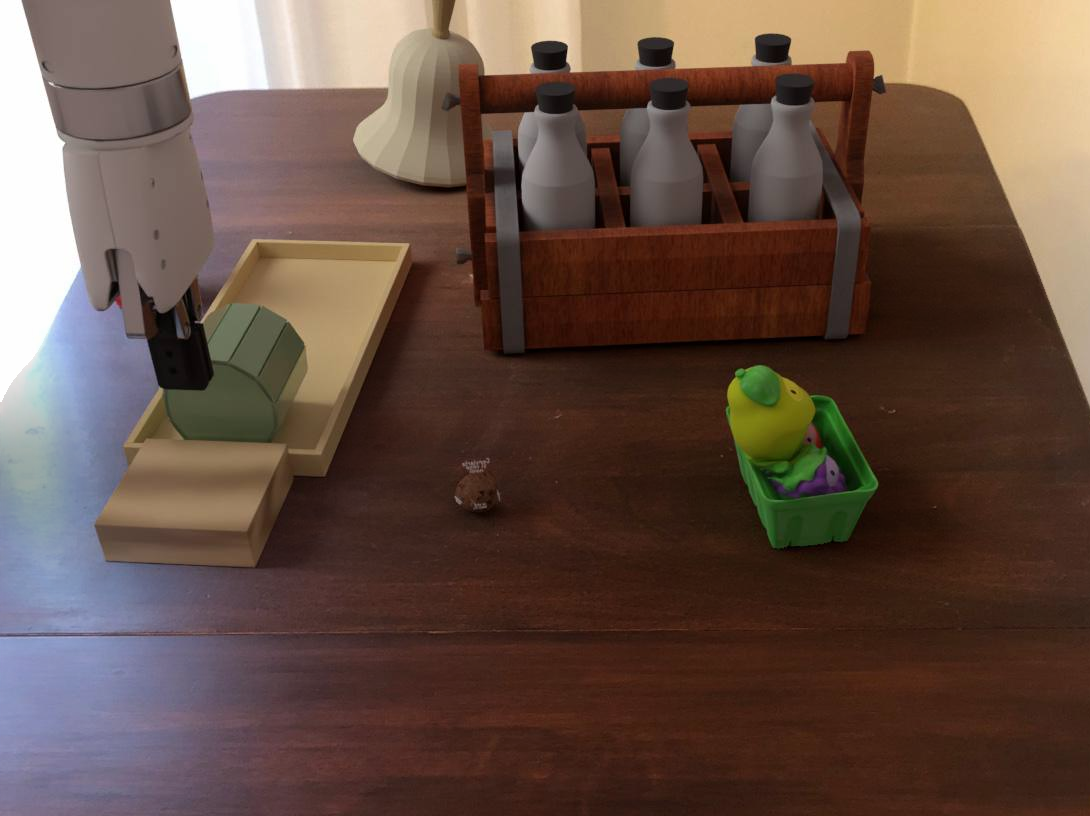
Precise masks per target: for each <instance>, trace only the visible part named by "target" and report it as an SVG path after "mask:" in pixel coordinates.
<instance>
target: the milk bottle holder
mask: <svg viewBox="0 0 1090 816" xmlns="http://www.w3.org/2000/svg"><path fill="white" fill-rule="evenodd" d="M636 44H637V52H638V59H636V61H635V65H634V69H633V70H632V69H630V70H629V69H627V70H626V69H625V70H603V71H602V70H601V71H600V70H599V71H574V72H573V71H572V72H571V70H572V68H571V65H570V63H569V62H568V61H567V60H568V59H567V58H568V49H569V46H568V44H567V43H565V42H563V41H559V40H541V41H538V42H537V41H536V42H534V43H532V45H531V46H530V50H531V56H532V62H531V64H530V66H529V73H513V74H512V73H511V74H510V73H509V74H508V73H507V74H485V75H479V74H478V63H477V64H459V65H458V71H459V89H460V95H454V94H452V93H449V92H446V95H445V97H444V100H443V104H442V108H441V109H442V110H445V111H449V110H450V109H452V108H453V107H455V106H456V105H461V117H462V130H463V144H464V157H465V171H466V186H465V188H466V200H467V201H466V202H467V213H468V214H467V215H468V227H469V228H468V229H469V239H470V250H469V251H468V250H466V249H465V248H463V247H458V248H455V256H456V257H455V258H456V265H464V264H466V263H467V262H468V261H471V267H472V268H471V269H472V280H473V281H472V282H473V294H474V295H473V298H474V306H475V307H477V308H478V307H480V308H481V323H482V337H483V350H484V351H503V354H504V355H510V354H526V352H525V351H526V349H527V350H528V349H529V350H531V349H549V348H550V349H551V348H571V347H572V348H573V347H594V346H595V347H596V346H617V345H640V344H663V343H664V344H665V343H683V342H706V341H709V342H710V341H729V340H731V341H732V340H733V341H734V340H750V339H774V338H776V339H777V338H797V337H799V338H801V337H817V336H820V337H821V336H822V337H823V340H840V339H841V340H843V339H844V340H845V339H847V338H848V335H863V334H865V333H866V327H867V321H868V315H869V308H870V299H871V289H872V282H871V280H870V278H869V276H868V274H867V273H866V268H867V262H868V255H869V249H870V237H871V228H872V227H871V225H870V223H869V221H868V218H867V217H865V213H866V211H865V210H864V208H863V206H862V202H863V193H864V185H865V156H866V155H865V154H866V147H867V138H868V131H869V122H870V121H869V120H870V113H871V104H872V96H873V92H875V93H876V94H879V95H883V94H886V93H887V90H886V89H887V88H886V84H885V81H884V76H883V74H880V75H878V76H875V60H874V55H873V54H872V52H871V51H870V50H849V51H848V52H847V56H846V59H845V62H837V63H834V62H833V63H806V64H792V63H793V60H792V57H791V56H790V55H789V53H790V48H791V44H792V38H791V37H790V36H788V35H786V34H783V33H770V32H769V33H762V34H758V35H757V36H755V37H754V47H755V54H754V55H752V56H751V60H750V61H751V62H750V64H751V65H748V66H717V67H692V68H691V67H690V68H689V67H688V68H685V67H684V68H677V64H676V61H675V60H674V59H673V52H674V46H675V42H674V41H673V40H672V39H670V38H666V37H660V36H659V37H657V36H652V37H645V38H641V39H640V40H638V41H637V43H636ZM828 102H829V103H830V102H831V103H832V102H841V104H840V112H839V113H840V114H839V123H838V132H837V141H836V146H835V149H834V151H833V149H832V147H831V144H830V143H829V141H828V140H827V138H826V135H825V134H824V132H823V130H822V128H819V127H815V125H814V123H813V122H812V120H811V117H812V113H813V112H814V108H815V103H828ZM717 106H738V109H737V111H736V113H735V115H734V120H733V125H732V130H719V131H694V132H693V131H691V132H690V131H689V127H688V117H689V115H690V112H691V108H692V107H693V108H694V107H717ZM605 110H606V111H607V110H608V111H609V110H626V111H625V113H624V115H623V118H622V121H621V124H620V131H619V134H612V135H611V134H610V135H607V134H606V135H588V134H587V129H586V124H585V122H584V119H583V117H582V115H581V113H580V111H605ZM522 113H524V114H523V116H522V117H521V121H520V123H519V126H518V131H517V132H518V133H517V138H513V130H512V129H508V130H507V129H505V130H504V129H503V130H493V131H492V132H493V140H483V136H482V120H481V114H482V115H493V114H496V115H497V114H522Z"/></svg>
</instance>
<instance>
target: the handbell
mask: <svg viewBox="0 0 1090 816" xmlns="http://www.w3.org/2000/svg"><path fill="white" fill-rule="evenodd" d="M431 3H432V17H433V18H432V19H433V27H431V28H428V27H427V28H421V29H417V30H413V31H411V32H409V33H407V34H406V35H404V36H403V37H402V38H401V39H400V40H399V41H398V42H397V43H396V44H395V46H394V48H393V51H392V53H391V57H390V60H389V65H388V66H389V67H388V87H387V88H388V90H387V97H386V99H385V101H384V103H383V104H382V106H380V107H379V108H378V109H376V110H375V111H373V112H372V113H371V114H370V115H368V116H367V117H366V118H364V119H363V120H361V122H359V124H358V125H357V126H356V128H355V133H354V135H353V139H352V142H353V143H354V146H355V148H356V150H357V152H358V154H359V156H360V158H361V159H363V160H364V161H365V162H366V163H368V164H369V165H370V166H371V167H372V168H373V169H374V170H376V171H379V172H381V173H382V174H385V175H387V176H390V177H392V178H394V179H396V180H400V181H404V182H409V183H413V184H417V185H420V186H428V187H441V188H455V187H466V171H465V157H464V144H463V130H462V117H461V105H456V106H455V107H453V108H452V109H450V110H449V111H445V110H442V109H441V108H442V104H443V100H444V97H445V95H446V92H449V93H452V94H454V95H460V89H459V71H458V65H459V64H477V63H478V74H479V75H486V74H485V71H486V69H485V64H484V61H483V58H482V56H481V53H479V51H478V50H477V48H476V46H475V45H474V44H473V43H472V42H471V41H470V40H469V39H467V38H466V37H464V36H463V35H461V34H459V33H456V32H454V31H451V30H449V29H450V25H451V20H452V16H453V13H454V9H455V4H456V0H431ZM481 120H482V136H483V140H493V132H492V131H494V130H493V128H492V127H491V126H490V125H489V124H488V123H487V121H486V120H485V119H484V117H483V114H481Z"/></svg>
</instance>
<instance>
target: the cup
mask: <svg viewBox="0 0 1090 816" xmlns="http://www.w3.org/2000/svg"><path fill="white" fill-rule="evenodd" d="M286 322H287V319H285V318H283V317H281V316H280V315H278V314H276V313H274V312H273V311H271V310H269V309H267V308H266V307H264V306H262V307H260V305H255V304H243V303H233V304H232V303H230V304H228V305H226V306H224V307H222V308H220V309H217V310H215V311H213V312H211V313H210V314H209V315H208V316H207V317H206V319H205V320H204V322H203V326H204V330H205V335H206V339H207V344H208V348H209V353H210V358H211V362H212V367H213V371H214V376H213V378H212V379H211V381H209V384H208V386H207V388H206V389H205V390H203V391H197V390H171V389H163V393H162V395H163V400H164V405H165V411H166V416H167V418H168V421H169V422H170V423H171V424H172V425H173V427H174V428H175V429H176V430H177V432H178V433H179V434H180V435H181V437H182V438H183V439H184V440H202V441H228V442H254V443H272V441H273V439H274V438H275V436H276V434H277V433H278V431H279V429H280V427H281V425H282V423H283V421H284V419H285V417H286V415H287V413H288V410H289V408H290V406H291V404H292V402H293V400H294V398H295V396H296V394H297V392H298V390H299V388H300V386H301V383H302V381H303V379H304V377H305V375H306V373H307V370H308V365H307V355H306V346H305V345H304V344H305V343H304V342H303V340H302V339H301V338H300V336H299V335H298V333H297V332H296V331H295V329H294V328H293V326H292V325H291V324H290V322H287V323H286Z"/></svg>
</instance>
